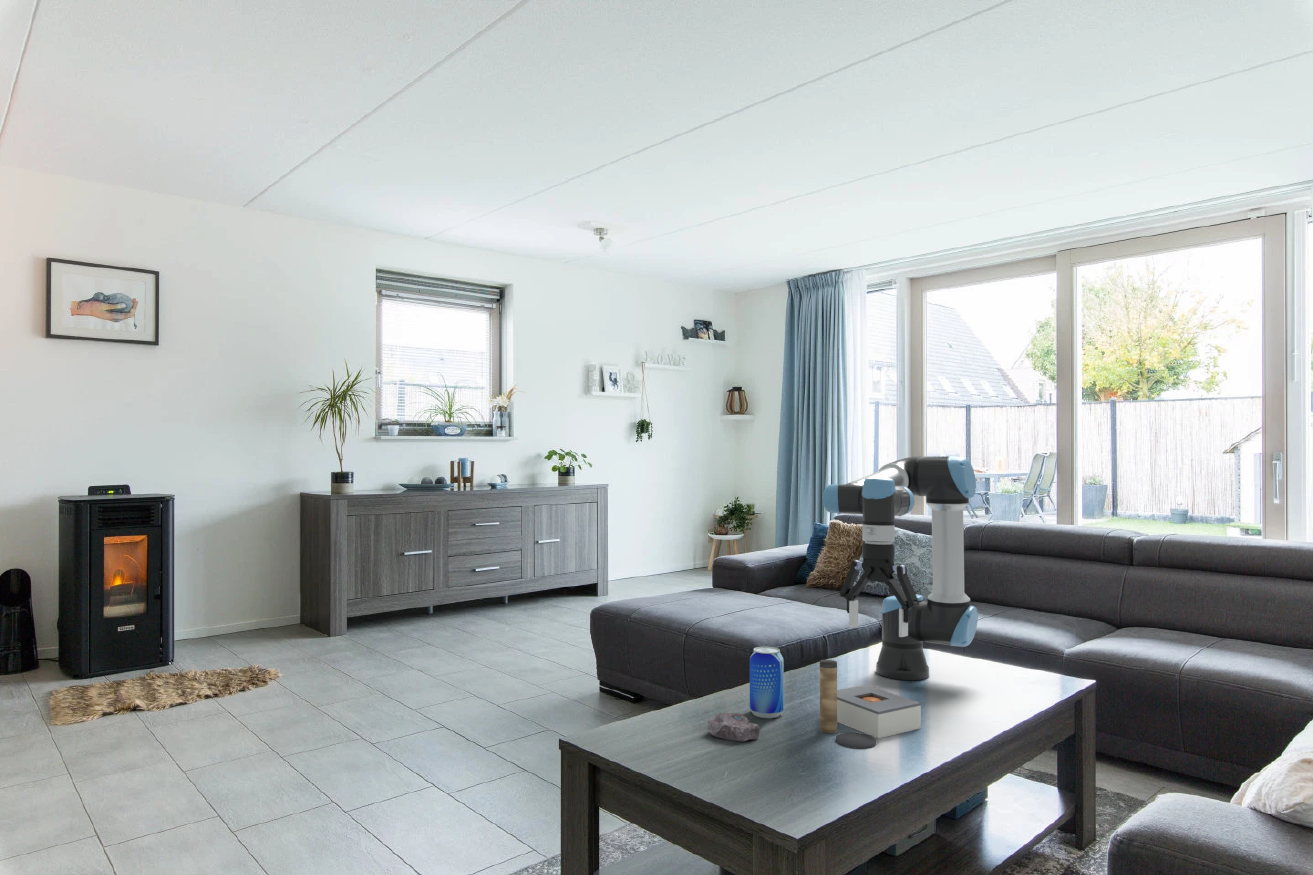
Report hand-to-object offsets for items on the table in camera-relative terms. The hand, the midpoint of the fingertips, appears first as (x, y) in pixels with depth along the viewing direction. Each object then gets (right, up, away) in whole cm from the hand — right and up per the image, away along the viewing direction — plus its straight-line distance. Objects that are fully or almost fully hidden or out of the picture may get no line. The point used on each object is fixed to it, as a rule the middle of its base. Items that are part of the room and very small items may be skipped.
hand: (877, 631), depth 196 cm
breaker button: (-1, -19, +3) cm, 19 cm away
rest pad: (-8, -22, -11) cm, 26 cm away
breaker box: (-1, -23, +3) cm, 23 cm away
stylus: (-12, -23, -3) cm, 26 cm away
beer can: (-25, -23, +9) cm, 35 cm away
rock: (-36, -23, -7) cm, 43 cm away
